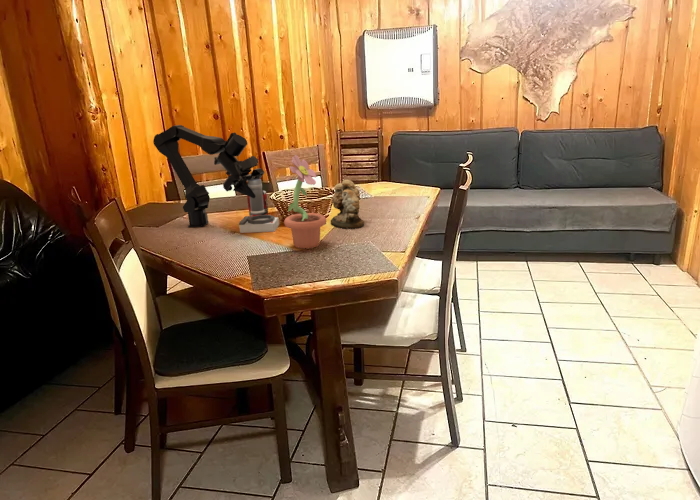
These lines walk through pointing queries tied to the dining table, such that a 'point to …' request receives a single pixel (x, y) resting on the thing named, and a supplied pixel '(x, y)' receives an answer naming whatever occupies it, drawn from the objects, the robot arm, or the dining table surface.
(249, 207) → the canned food
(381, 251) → the dining table surface
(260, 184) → the gray tumbler
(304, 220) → the decorative flower
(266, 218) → the square flange plate
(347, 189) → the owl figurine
